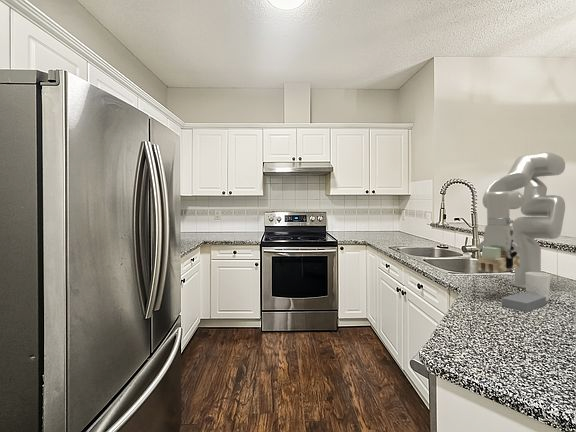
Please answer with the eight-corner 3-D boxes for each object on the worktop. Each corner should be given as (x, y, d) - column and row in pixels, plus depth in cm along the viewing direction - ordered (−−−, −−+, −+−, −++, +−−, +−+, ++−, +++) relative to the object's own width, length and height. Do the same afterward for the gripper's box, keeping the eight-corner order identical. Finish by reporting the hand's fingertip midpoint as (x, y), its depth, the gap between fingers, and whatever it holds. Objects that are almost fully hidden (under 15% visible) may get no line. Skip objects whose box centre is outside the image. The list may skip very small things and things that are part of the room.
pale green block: (487, 256, 130) (487, 246, 130) (500, 258, 126) (500, 247, 126) (482, 257, 128) (481, 247, 128) (495, 259, 124) (495, 248, 124)
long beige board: (501, 264, 138) (500, 252, 138) (519, 266, 132) (519, 254, 132) (477, 270, 129) (477, 257, 128) (496, 273, 123) (496, 260, 122)
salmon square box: (501, 253, 136) (501, 244, 136) (514, 254, 132) (514, 245, 132) (496, 254, 134) (496, 244, 134) (509, 255, 130) (509, 246, 130)
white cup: (546, 297, 128) (547, 272, 128) (553, 303, 121) (553, 276, 121) (522, 295, 131) (522, 271, 131) (527, 300, 124) (527, 275, 124)
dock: (521, 299, 125) (521, 292, 125) (546, 304, 119) (546, 296, 119) (501, 306, 118) (501, 298, 118) (526, 312, 111) (526, 303, 111)
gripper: (527, 222, 124) (527, 268, 125) (481, 221, 139) (481, 262, 139) (518, 223, 120) (518, 271, 121) (471, 222, 135) (471, 264, 136)
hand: (498, 266), depth 130 cm, fingers closed on long beige board, 7 cm apart
